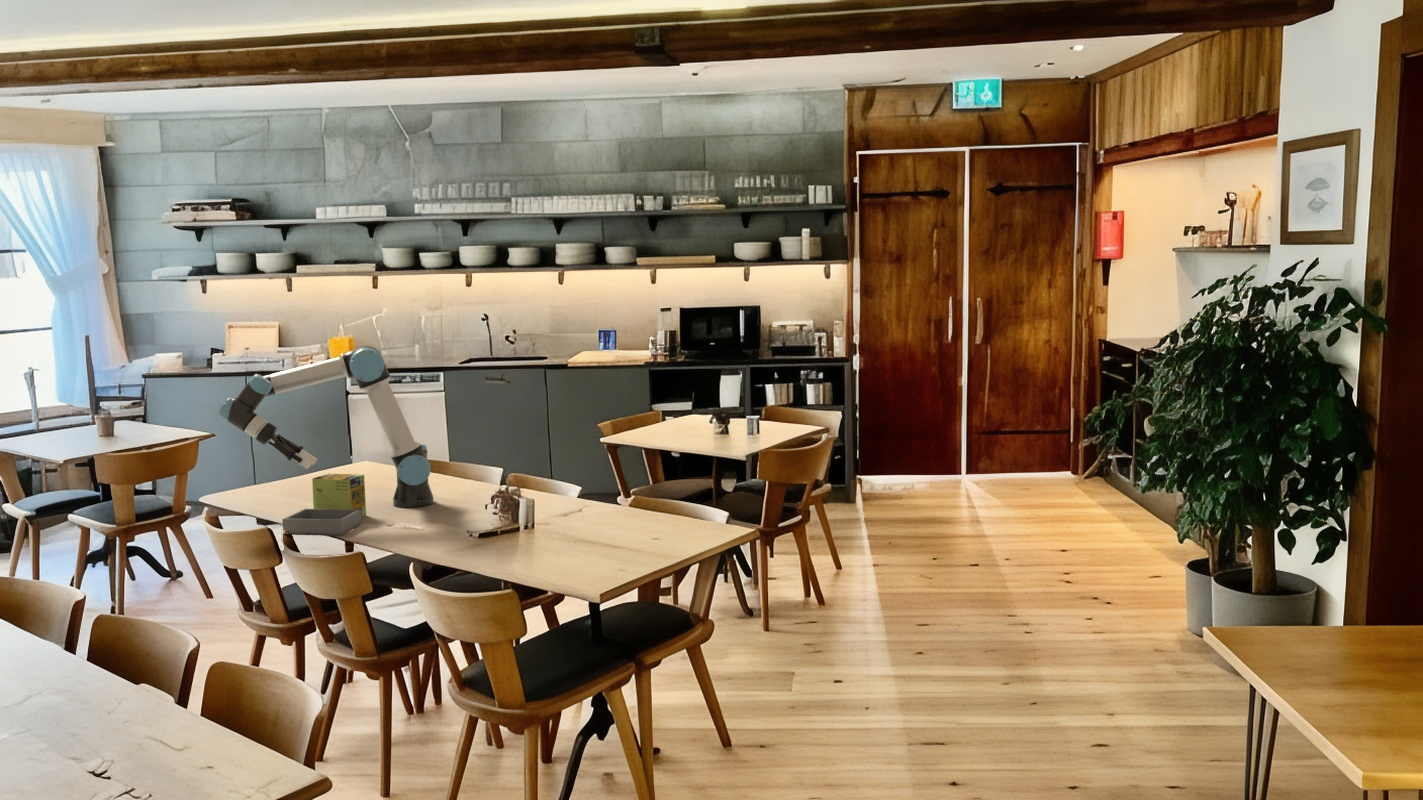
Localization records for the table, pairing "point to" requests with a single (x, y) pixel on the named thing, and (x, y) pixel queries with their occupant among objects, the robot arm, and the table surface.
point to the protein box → (339, 492)
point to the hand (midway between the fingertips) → (312, 464)
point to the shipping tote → (322, 522)
